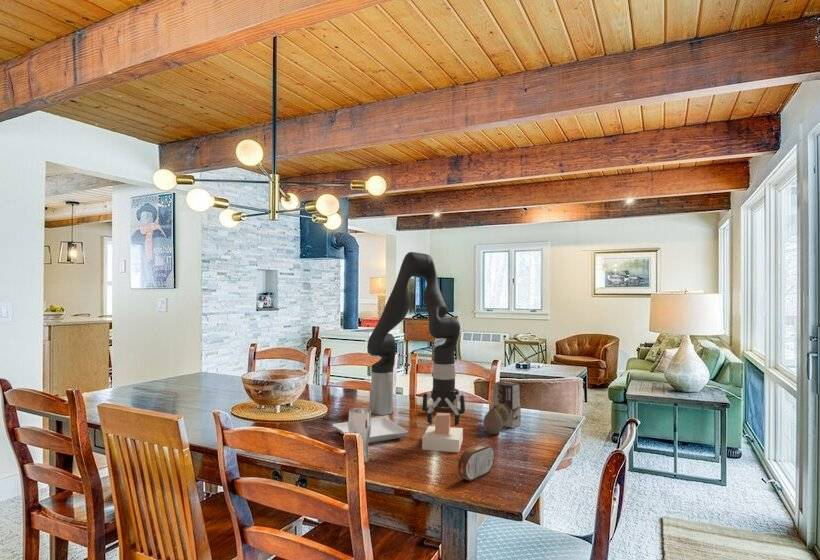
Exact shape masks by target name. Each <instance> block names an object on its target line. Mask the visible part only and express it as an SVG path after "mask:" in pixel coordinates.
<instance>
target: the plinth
mask: <svg viewBox="0 0 820 560" xmlns="http://www.w3.org/2000/svg"><path fill="white" fill-rule="evenodd" d="M421 440H422V441H421V450H423V451H435V452H446V453H447V452H448V453H460V451H461V446H462V444H463V440H464V428H463V427H453V426H450V433H449V435H443V434H435V425H428V426H427V428H426V430H425V432H424V434H423V435H422V437H421Z"/></svg>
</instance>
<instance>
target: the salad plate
mask: <svg viewBox="0 0 820 560" xmlns="http://www.w3.org/2000/svg"><path fill="white" fill-rule="evenodd" d="M332 427H333V429H335V430H336V431H337V432H339V433H340V434H342V435H343V434H344V433H345V432H349V430H348V421H344V422H339V423H337V422H336V423H332ZM408 432H409V431H408V430H406V429H405V428H404V427H401V426H400V425H398V424H396V423H395V422H393V421H392V420H390V419H388V418H386V417H381V416H380V417H375V418H371V432H370V438H369V443H368V444H371V443H378V442H379V443H380V442H383V441H384V442H387V441H391V440H396V439H400V438H402V437H404V436H406V435H407V434H408Z"/></svg>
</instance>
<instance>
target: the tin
mask: <svg viewBox="0 0 820 560" xmlns="http://www.w3.org/2000/svg"><path fill="white" fill-rule="evenodd" d="M495 452H496V451H495V448H494V447H493V446H492V445H490V444H488V443H485V442H481V443H479V444H476V445H474V446H471V447H468V448H466V449H465V450H463V451H462V453H461V455H460V456H459V459H458V462H457V472H458V476H459V477H460V478H461V479H464V480H466V481H470V482H472V481H473V480H476V479H480V477H483V476H486V475H487V474H489V473H490V472H491V471H492V469H493V467H494V463H495V456H496V455H495V454H496V453H495Z"/></svg>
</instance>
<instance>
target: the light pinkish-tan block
mask: <svg viewBox="0 0 820 560" xmlns="http://www.w3.org/2000/svg"><path fill="white" fill-rule="evenodd" d="M435 414H436V415H434V416H435V419H434V420H435V421H434V423H435V425H434V426H435V434H443V435H449V433H450V427H451V414H450V413H435Z"/></svg>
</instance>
